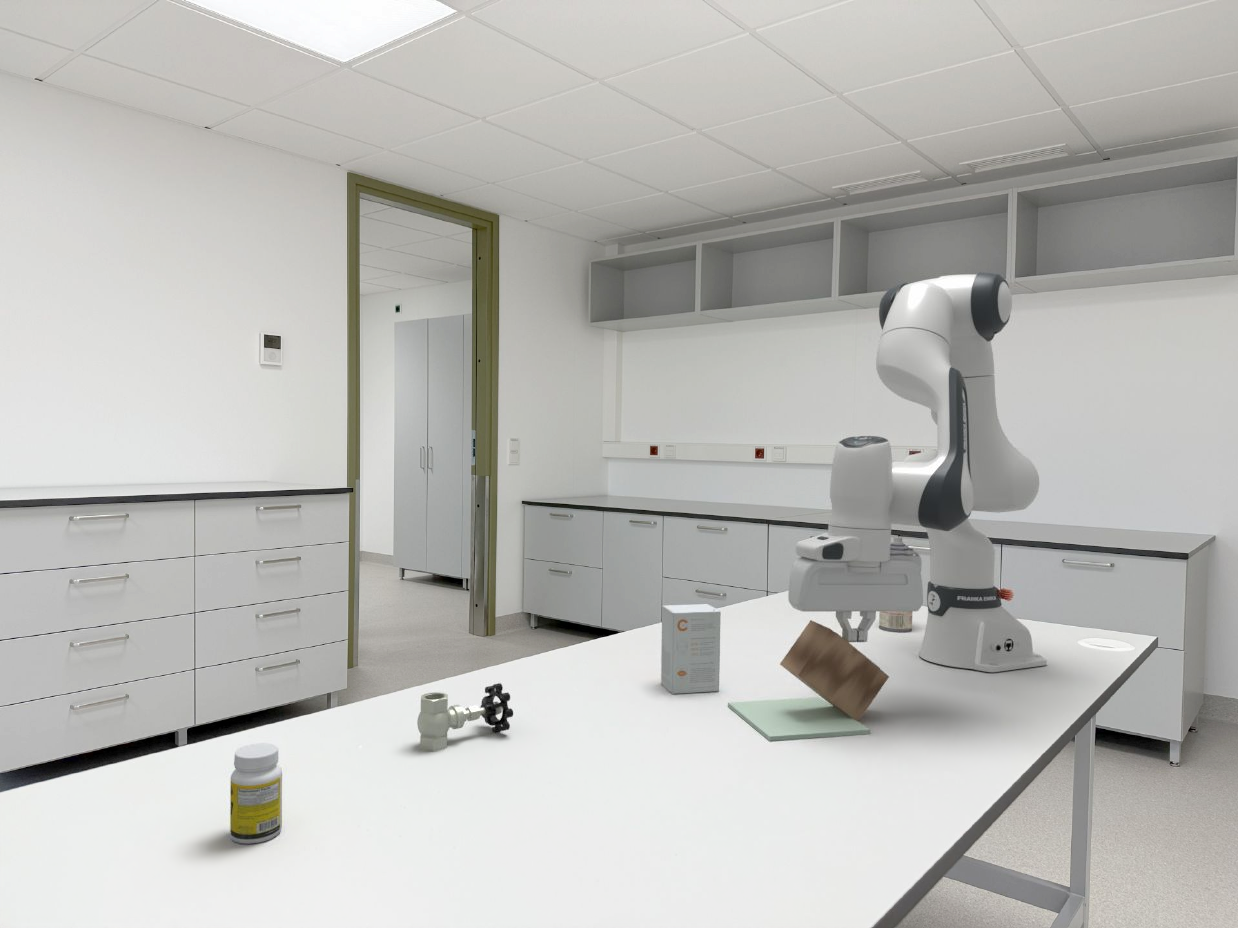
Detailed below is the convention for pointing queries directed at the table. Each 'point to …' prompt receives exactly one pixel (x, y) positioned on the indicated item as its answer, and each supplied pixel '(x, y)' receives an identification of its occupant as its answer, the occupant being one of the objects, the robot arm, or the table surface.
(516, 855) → the table surface
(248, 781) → the supplement bottle
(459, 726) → the valve
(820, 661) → the walnut block
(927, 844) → the table surface
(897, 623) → the aerosol can
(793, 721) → the green glass pane
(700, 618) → the small box
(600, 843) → the table surface
